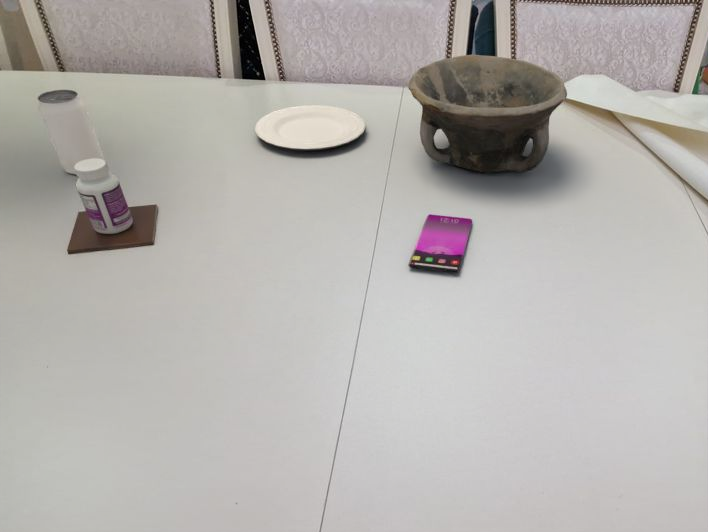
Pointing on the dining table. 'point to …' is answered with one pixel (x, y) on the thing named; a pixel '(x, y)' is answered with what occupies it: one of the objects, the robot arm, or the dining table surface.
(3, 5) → the robot arm
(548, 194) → the dining table surface
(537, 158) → the bowl
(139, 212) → the coaster
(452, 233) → the smartphone
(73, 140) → the can
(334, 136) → the plate
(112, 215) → the pill bottle
